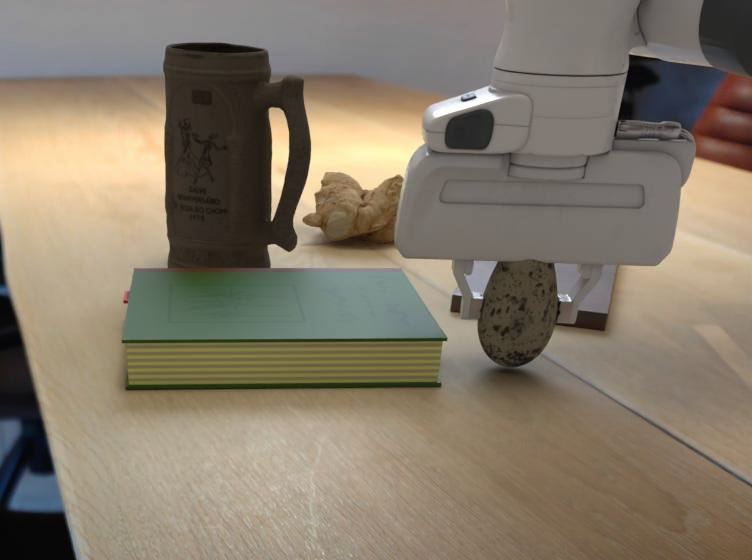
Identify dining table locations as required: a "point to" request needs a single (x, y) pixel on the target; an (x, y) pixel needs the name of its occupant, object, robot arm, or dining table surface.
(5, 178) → the dining table surface
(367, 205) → the ginger root
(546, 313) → the decorative egg
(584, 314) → the serving board
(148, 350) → the hardcover book
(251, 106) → the beer stein
